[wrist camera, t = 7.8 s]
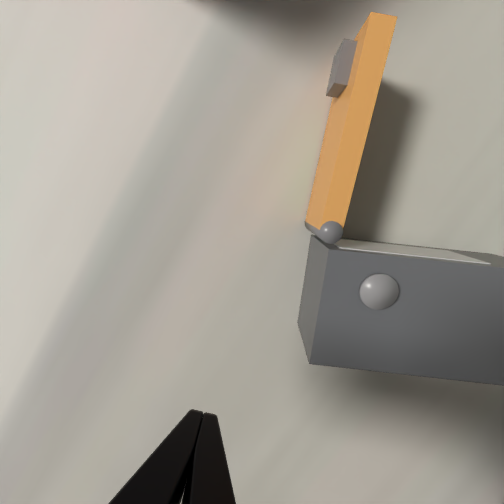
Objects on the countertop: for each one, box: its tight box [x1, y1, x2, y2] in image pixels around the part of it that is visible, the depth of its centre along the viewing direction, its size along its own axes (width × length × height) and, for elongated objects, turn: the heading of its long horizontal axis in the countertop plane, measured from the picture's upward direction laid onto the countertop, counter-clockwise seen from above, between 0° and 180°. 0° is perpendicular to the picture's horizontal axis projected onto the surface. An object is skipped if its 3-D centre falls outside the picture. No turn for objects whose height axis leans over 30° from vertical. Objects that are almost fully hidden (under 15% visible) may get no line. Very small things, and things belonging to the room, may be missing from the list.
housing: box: [298, 235, 504, 385], centre depth 17 cm, size 7×14×5 cm, turn 84°
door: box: [305, 12, 397, 244], centre depth 15 cm, size 2×11×5 cm, turn 170°
